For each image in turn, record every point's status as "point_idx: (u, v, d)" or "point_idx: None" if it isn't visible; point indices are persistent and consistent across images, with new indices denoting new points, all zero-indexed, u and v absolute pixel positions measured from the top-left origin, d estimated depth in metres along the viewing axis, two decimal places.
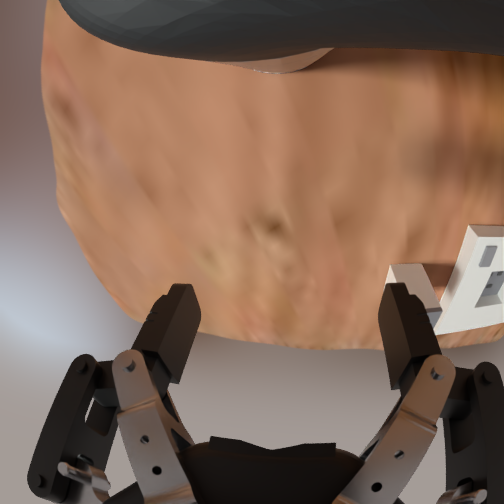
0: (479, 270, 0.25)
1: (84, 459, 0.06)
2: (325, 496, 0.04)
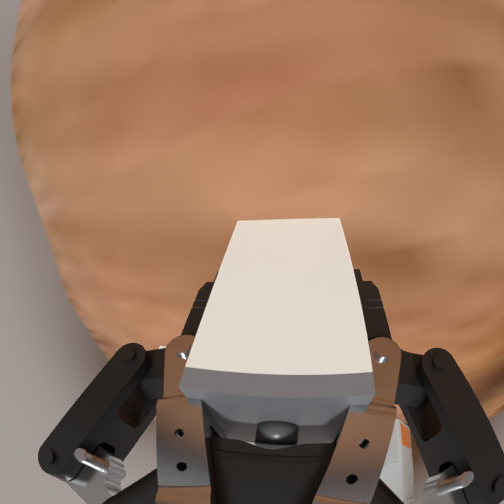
0: None
1: (106, 445, 0.06)
2: (304, 498, 0.04)
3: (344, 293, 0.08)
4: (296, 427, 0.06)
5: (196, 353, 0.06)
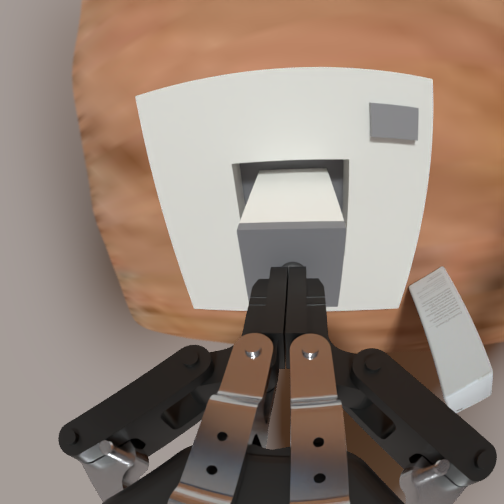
0: (354, 112, 0.13)
1: None
2: None
3: (327, 195, 0.13)
4: None
5: (245, 218, 0.12)
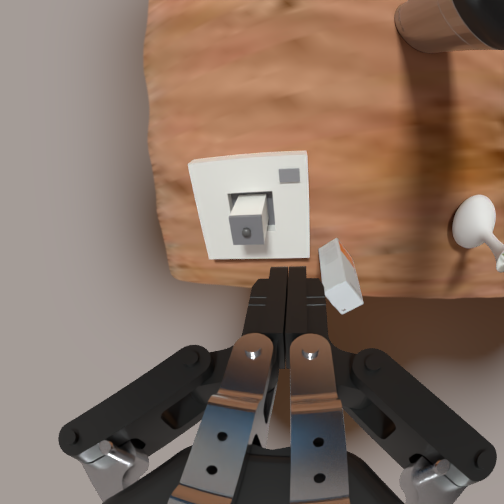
0: (272, 173, 0.39)
1: None
2: None
3: (260, 206, 0.39)
4: (250, 229, 0.38)
5: (231, 214, 0.38)
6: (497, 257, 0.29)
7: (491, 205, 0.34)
